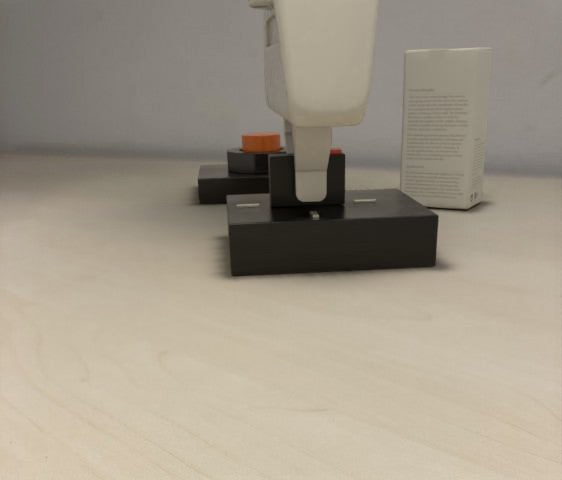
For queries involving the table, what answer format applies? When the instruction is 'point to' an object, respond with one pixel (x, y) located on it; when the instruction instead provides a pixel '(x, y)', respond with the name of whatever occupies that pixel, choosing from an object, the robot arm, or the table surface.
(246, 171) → the button block
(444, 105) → the cosmetic box
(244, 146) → the button
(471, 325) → the table surface
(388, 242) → the panel
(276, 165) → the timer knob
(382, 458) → the table surface
